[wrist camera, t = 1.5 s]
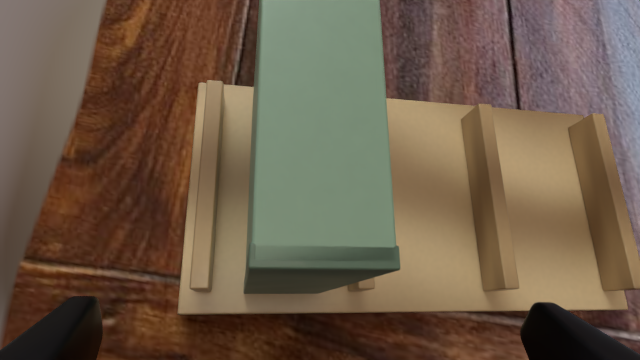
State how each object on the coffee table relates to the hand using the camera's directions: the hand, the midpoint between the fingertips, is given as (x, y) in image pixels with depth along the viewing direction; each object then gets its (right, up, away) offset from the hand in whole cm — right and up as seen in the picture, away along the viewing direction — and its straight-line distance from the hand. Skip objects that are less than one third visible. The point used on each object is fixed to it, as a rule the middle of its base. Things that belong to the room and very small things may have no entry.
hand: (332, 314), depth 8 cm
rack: (+5, +2, +15) cm, 16 cm away
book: (-2, +2, +13) cm, 13 cm away
